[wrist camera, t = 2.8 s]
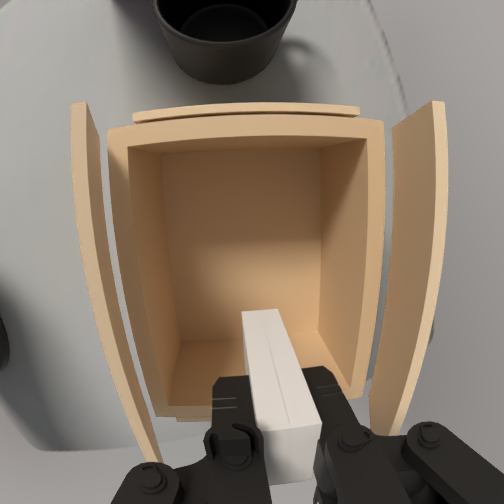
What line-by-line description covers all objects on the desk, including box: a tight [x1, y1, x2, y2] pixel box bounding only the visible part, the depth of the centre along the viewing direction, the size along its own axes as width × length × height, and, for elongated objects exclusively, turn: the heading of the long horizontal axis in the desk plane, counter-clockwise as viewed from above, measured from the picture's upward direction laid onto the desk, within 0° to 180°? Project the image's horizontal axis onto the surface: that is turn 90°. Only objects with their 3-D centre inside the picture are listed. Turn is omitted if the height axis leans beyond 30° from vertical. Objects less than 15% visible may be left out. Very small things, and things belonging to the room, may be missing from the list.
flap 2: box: [369, 101, 448, 436], centre depth 14 cm, size 8×19×1 cm
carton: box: [107, 102, 385, 422], centre depth 23 cm, size 16×22×10 cm
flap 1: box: [71, 102, 164, 464], centre depth 13 cm, size 8×19×1 cm
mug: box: [152, 0, 298, 84], centre depth 18 cm, size 9×12×9 cm
